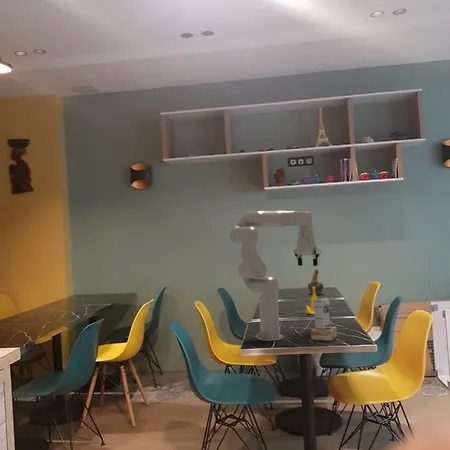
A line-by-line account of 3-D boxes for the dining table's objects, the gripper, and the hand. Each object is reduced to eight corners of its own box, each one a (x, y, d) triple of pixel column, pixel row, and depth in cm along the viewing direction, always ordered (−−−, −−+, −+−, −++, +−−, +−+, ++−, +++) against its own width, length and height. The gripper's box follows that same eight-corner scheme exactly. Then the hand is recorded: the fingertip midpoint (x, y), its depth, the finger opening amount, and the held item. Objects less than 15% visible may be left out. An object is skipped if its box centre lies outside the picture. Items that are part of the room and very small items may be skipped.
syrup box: (324, 329, 254) (322, 299, 255) (315, 328, 258) (313, 299, 259) (331, 327, 257) (329, 298, 258) (322, 326, 262) (320, 298, 263)
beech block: (331, 341, 251) (330, 331, 251) (311, 340, 255) (311, 330, 255) (336, 336, 260) (336, 326, 260) (317, 335, 264) (317, 326, 264)
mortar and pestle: (322, 296, 401) (320, 270, 401) (302, 295, 410) (301, 270, 410) (329, 293, 413) (327, 268, 413) (309, 293, 422) (308, 268, 423)
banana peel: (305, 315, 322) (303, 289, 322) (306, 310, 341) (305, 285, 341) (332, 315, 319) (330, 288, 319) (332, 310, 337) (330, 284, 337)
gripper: (289, 235, 284) (290, 266, 284) (315, 234, 272) (317, 266, 272) (296, 234, 290) (298, 265, 290) (323, 233, 278) (325, 265, 278)
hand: (307, 265), depth 281 cm, fingers open, 9 cm apart
